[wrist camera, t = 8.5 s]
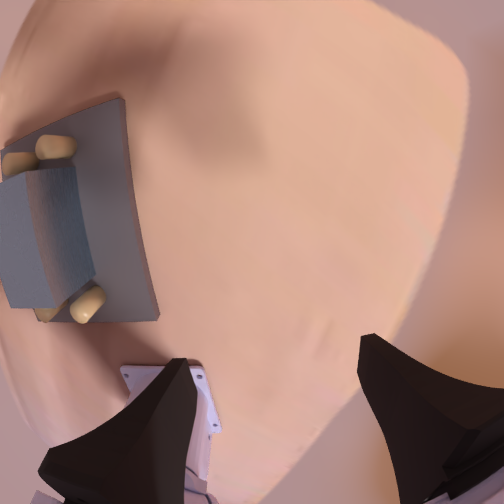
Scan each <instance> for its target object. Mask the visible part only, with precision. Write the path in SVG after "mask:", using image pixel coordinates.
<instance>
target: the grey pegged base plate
mask: <svg viewBox="0 0 504 504" xmlns="http://www.w3.org/2000/svg"><path fill="white" fill-rule="evenodd" d="M0 152H1V168H2V179H3V182H4V181H6V180H8V179H10V178H12V177H14V176H16V175H18V174H21V173H23V172H25V171H34V170H43V169H54V168H66V167H76V175H77V183H78V190H79V196H80V202H81V208H82V214H83V219H84V224H85V229H86V234H87V238H88V243H89V247H90V251H91V256H92V260H93V263H94V267H95V271H96V275H95V276H94V277H93V278H92V279H90V280H89V281H88V282H87V283H86V284H84V285H83V286H82V287H81V288H80V289H78V290H77V291H76V292H75V293H74V294H72V295H71V296H70V297H69V298H68V299H67V300H65V301H64V302H63V303H62V304H61V305H60V306H59V307H57V308H33V309H34V312H35V314H36V317H37V319H38V321H42V322H44V323H47V322H79V323H81V324H84V323H86V322H141V321H157V319H158V318H159V316H160V312H159V308H158V304H157V301H156V297H155V293H154V289H153V285H152V281H151V276H150V272H149V268H148V263H147V259H146V254H145V250H144V245H143V240H142V235H141V229H140V224H139V219H138V213H137V207H136V201H135V194H134V188H133V181H132V173H131V165H130V157H129V147H128V137H127V125H126V111H125V100H123V99H121V98H117V99H114V100H111V101H108V102H105V103H102V104H99V105H96V106H93V107H91V108H88V109H85V110H83V111H80V112H78V113H75V114H73V115H70V116H68V117H65V118H63V119H61V120H58V121H56V122H54V123H52V124H50V125H47V126H45V127H43V128H41V129H39V130H37V131H35V132H33V133H31V134H29V135H27V136H25V137H23V138H22V139H20V140H18V141H16V142H14V143H13V144H11V145H9V146H7V147H6V148H4V149H2V150H0Z"/></svg>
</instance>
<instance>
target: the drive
mask: <svg viewBox="0 0 504 504" xmlns="http://www.w3.org/2000/svg"><path fill="white" fill-rule="evenodd" d="M95 275H96V271H95V267H94V263H93V260H92V256H91V251H90V247H89V243H88V238H87V234H86V229H85V224H84V219H83V214H82V208H81V202H80V196H79V190H78V183H77V175H76V167H66V168H54V169H43V170H34V171H25V172H23V173H21V174H18V175H16V176H14V177H12V178H10V179H8V180H6V181H4V182H2V183H0V278H1V281H2V284H3V287H4V290H5V293H6V296H7V299H8V302H9V304H10V307H11V308H57V307H59V306H60V305H61V304H62V303H63V302H64V301H65V300H67V299H68V298H69V297H70V296H71V295H72V294H74V293H75V292H76V291H77V290H78V289H80V288H81V287H82V286H83V285H84V284H86V283H87V282H88V281H89V280H90V279H92V278H93V277H94V276H95Z"/></svg>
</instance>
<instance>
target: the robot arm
mask: <svg viewBox="0 0 504 504" xmlns="http://www.w3.org/2000/svg"><path fill="white" fill-rule="evenodd" d="M120 372H121V374H122V376H123V378H124V380H125V382H126V385H127V387H128V389H129V391H130V396H129V398H128V400H127V402H126V405H125V407H124V409H123V410H122V411H120V412H119V413H118V414H117V415H115V416H114V417H113V418H111V419H110V420H108V421H107V422H105V423H104V424H102V425H100V426H99V427H97V428H96V429H94V430H92V431H91V432H89V433H87V434H85V435H83V436H81V437H79V438H77V439H74V440H72V441H70V442H67V443H64V444H62V445H59V446H56V447H53V448H49V450H48V452H47V454H46V456H45V458H44V460H43V461H42V463H41V466H40V467H39V469H38V473H39V476H40V477H41V478H42V479H43V480H44V481H45V482H46V483H47V484H48V485H49V486H50V487H52V488H53V489H54V490H55V491H57V492H58V493H59V494H60V495H62V496H63V497H64V498H65V501H64V503H62V502H60V501H58V500H57V499H55V498H53V497H51V496H48V495H46V494H44V493H42V492H40V491H38V490H37V491H36V493H35V495H34V497H33V499H32V502H31V504H219V503H218V501H217V499H216V498H215V497H214V496H213V495H212V494H210V493H206V491H207V481H206V479H207V476H208V470H209V460H210V450H211V441H212V433H220V432H222V426H221V423H220V420H219V417H218V414H217V411H216V407H215V404H214V401H213V397H212V394H211V391H210V387H209V384H208V380H207V377H206V373H205V370H204V368H203V367H201V366H189V365H188V362H187V359H186V358H172V360H171V361H170V362H169V363H168V364H167V365H166V366H131V365H122V366H121V368H120ZM127 374H128V375H127ZM357 374H358V377H359V380H360V383H361V386H362V389H363V392H364V394H365V396H366V398H367V400H368V402H369V404H370V406H371V408H372V411H373V412H374V414H375V416H376V419H377V420H378V423H379V425H380V427H381V429H382V432H383V434H384V437H385V440H386V443H387V446H388V449H389V452H390V456H391V460H392V463H393V467H394V471H395V476H396V480H397V485H398V491H399V497H400V504H504V389H502V388H491V387H486V386H480V385H476V384H472V383H468V382H464V381H461V380H458V379H455V378H452V377H449V376H447V375H445V374H442V373H440V372H438V371H435V370H433V369H431V368H429V367H427V366H426V365H424V364H422V363H420V362H418V361H416V360H415V359H413V358H411V357H410V356H408V355H407V354H405V353H403V352H402V351H400V350H398V349H397V348H396V347H394V346H393V345H391V344H390V343H388V342H387V341H385V340H384V339H382V338H381V337H379V336H378V335H376V334H375V333H373V334H368V335H364V336H361V340H360V351H359V360H358V368H357ZM198 375H202V376H198Z"/></svg>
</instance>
